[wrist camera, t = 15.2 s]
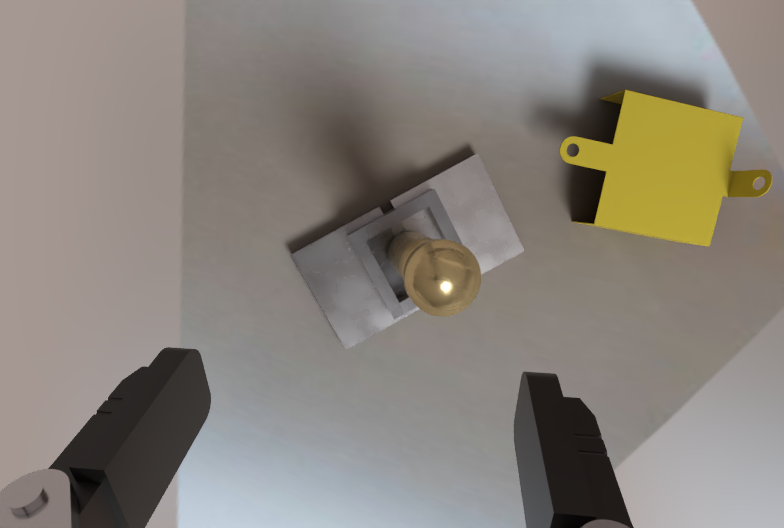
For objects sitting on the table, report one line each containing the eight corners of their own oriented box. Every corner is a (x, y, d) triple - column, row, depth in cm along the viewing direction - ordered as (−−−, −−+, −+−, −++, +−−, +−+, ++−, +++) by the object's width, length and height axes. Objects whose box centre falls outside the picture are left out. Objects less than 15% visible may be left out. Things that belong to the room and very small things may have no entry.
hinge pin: (373, 242, 39) (391, 264, 27) (421, 216, 39) (460, 226, 27) (398, 289, 40) (427, 329, 28) (445, 263, 40) (493, 293, 28)
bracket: (611, 26, 33) (801, 75, 35) (558, 58, 40) (716, 96, 42) (560, 252, 34) (743, 285, 37) (518, 241, 42) (672, 269, 44)
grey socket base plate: (291, 253, 39) (288, 257, 37) (474, 154, 40) (483, 151, 38) (345, 346, 41) (346, 355, 39) (519, 249, 42) (531, 252, 39)
